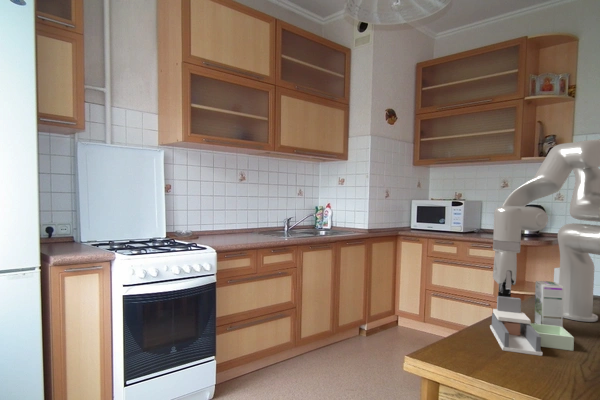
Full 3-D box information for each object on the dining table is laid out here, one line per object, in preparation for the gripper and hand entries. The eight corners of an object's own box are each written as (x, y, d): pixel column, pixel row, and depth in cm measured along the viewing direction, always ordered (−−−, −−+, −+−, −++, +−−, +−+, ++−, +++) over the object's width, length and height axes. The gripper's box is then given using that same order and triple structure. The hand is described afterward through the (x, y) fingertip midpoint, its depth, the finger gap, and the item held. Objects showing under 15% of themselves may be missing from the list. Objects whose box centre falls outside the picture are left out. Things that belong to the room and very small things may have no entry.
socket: (526, 334, 111) (526, 322, 111) (561, 338, 108) (561, 326, 108) (535, 345, 102) (535, 332, 102) (573, 350, 100) (574, 337, 100)
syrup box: (563, 335, 110) (565, 286, 110) (540, 333, 112) (542, 284, 111) (554, 329, 116) (556, 281, 116) (532, 327, 117) (534, 280, 117)
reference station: (490, 327, 116) (490, 312, 115) (523, 331, 113) (524, 316, 113) (502, 350, 98) (503, 332, 98) (542, 355, 96) (543, 337, 96)
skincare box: (563, 299, 151) (564, 269, 151) (552, 297, 155) (553, 267, 155) (572, 298, 153) (574, 269, 153) (562, 295, 157) (563, 267, 157)
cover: (492, 312, 115) (493, 295, 114) (522, 315, 112) (523, 298, 112) (498, 320, 107) (499, 302, 107) (530, 324, 105) (531, 306, 104)
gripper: (488, 242, 126) (486, 297, 127) (497, 248, 112) (495, 310, 112) (514, 244, 124) (511, 300, 124) (526, 250, 110) (523, 313, 110)
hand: (503, 305), depth 118 cm, fingers closed
